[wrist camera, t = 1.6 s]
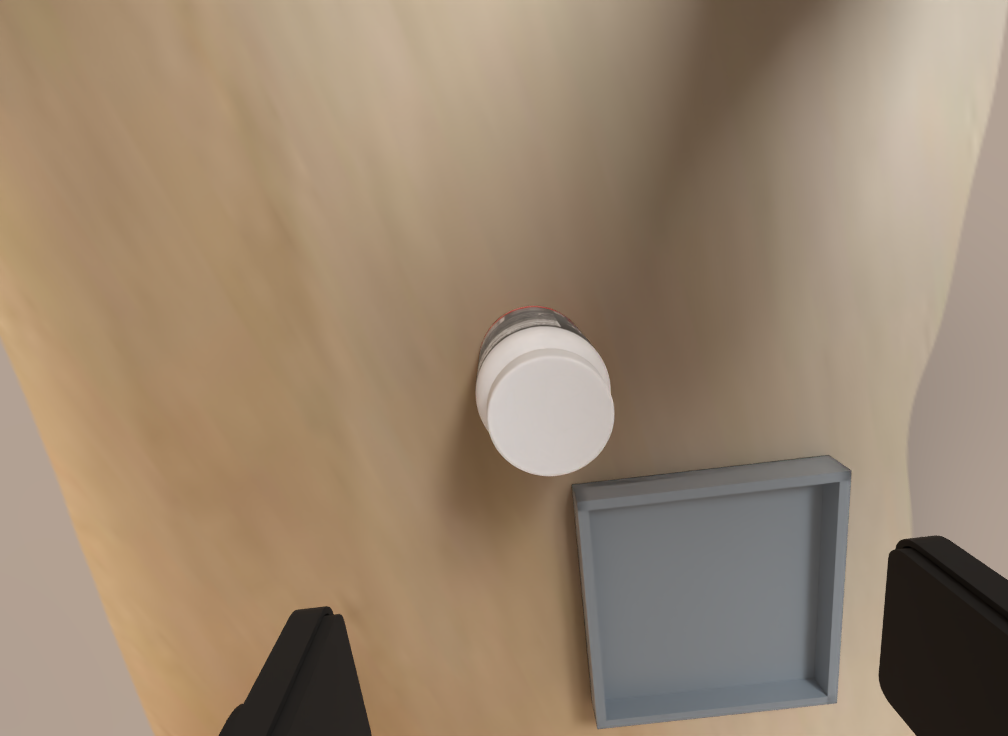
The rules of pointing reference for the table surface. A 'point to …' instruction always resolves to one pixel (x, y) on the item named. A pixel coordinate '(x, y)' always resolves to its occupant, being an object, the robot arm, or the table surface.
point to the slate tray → (713, 589)
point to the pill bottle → (543, 392)
